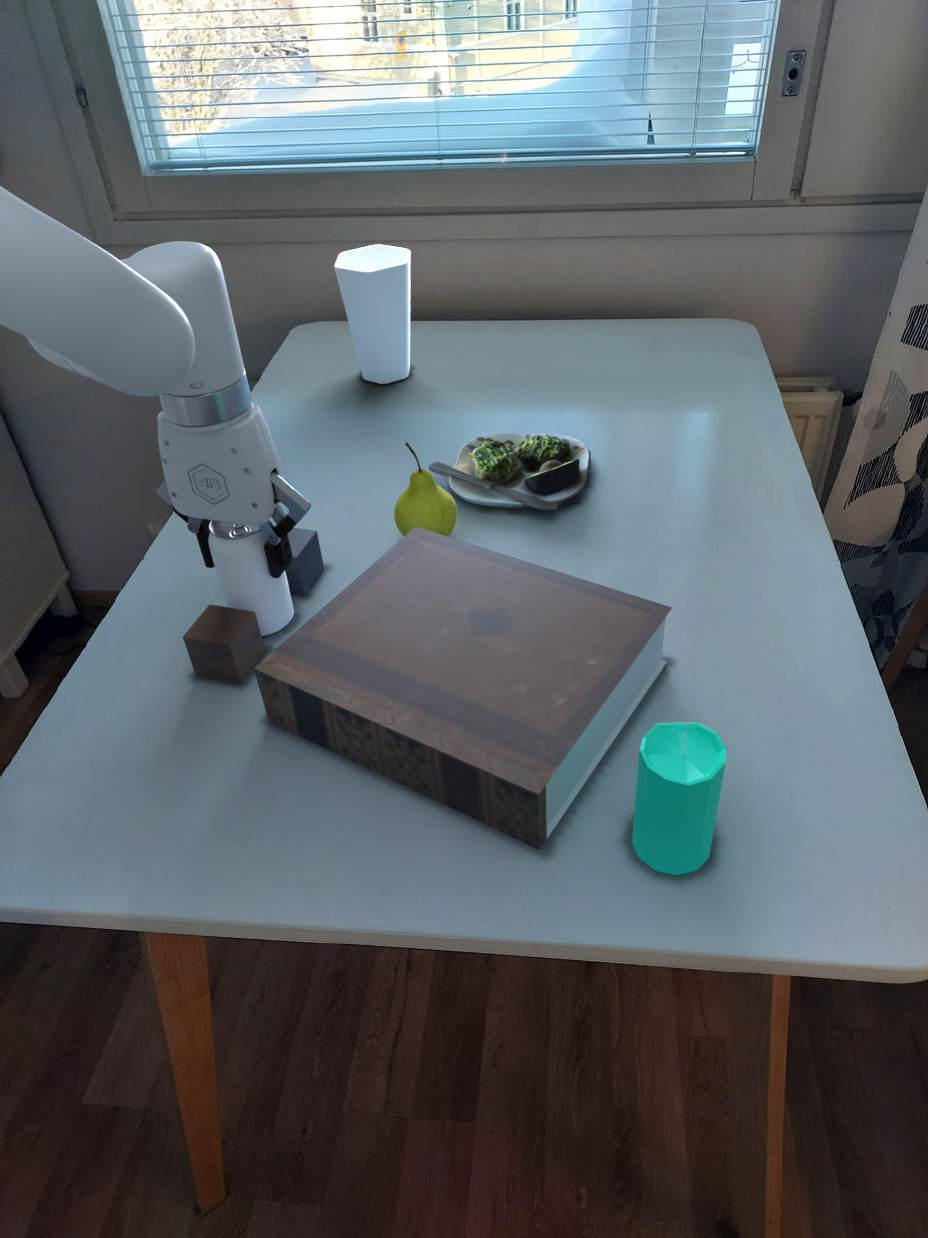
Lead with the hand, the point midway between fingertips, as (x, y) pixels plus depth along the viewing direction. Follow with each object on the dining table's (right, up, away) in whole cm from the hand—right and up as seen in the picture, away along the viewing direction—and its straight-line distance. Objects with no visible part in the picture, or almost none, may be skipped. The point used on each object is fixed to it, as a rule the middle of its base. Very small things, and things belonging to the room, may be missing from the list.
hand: (249, 563), depth 91 cm
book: (+22, -12, -6) cm, 26 cm away
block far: (+3, -1, +10) cm, 10 cm away
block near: (-2, -10, 0) cm, 10 cm away
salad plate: (+28, +12, +23) cm, 38 cm away
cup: (+10, +31, +48) cm, 58 cm away
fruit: (+17, +3, +14) cm, 22 cm away
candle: (+37, -23, -20) cm, 48 cm away
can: (0, -6, +5) cm, 7 cm away
